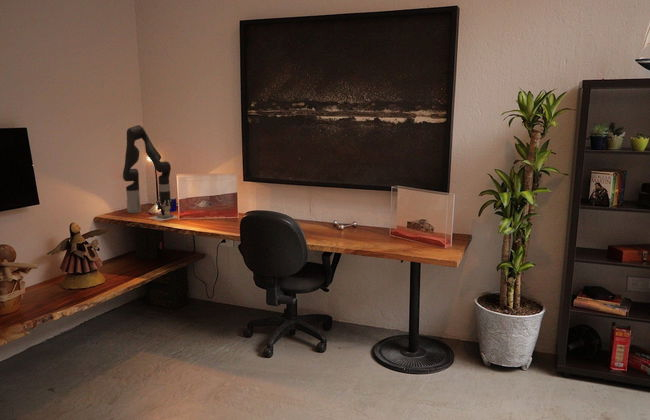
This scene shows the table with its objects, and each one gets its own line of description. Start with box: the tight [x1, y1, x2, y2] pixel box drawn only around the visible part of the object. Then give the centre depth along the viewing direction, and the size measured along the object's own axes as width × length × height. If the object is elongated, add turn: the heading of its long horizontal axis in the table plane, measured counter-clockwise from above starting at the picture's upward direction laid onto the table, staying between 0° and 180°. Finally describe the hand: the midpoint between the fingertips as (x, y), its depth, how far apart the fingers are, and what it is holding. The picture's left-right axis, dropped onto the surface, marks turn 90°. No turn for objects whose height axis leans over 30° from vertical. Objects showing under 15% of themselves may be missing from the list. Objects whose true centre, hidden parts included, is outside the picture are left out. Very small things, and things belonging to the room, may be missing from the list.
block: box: [162, 205, 171, 217], centre depth 367 cm, size 4×4×7 cm
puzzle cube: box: [157, 197, 178, 213], centre depth 400 cm, size 10×10×10 cm
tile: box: [156, 213, 174, 219], centre depth 379 cm, size 2×8×9 cm
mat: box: [148, 215, 178, 222], centre depth 378 cm, size 16×16×1 cm
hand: (165, 214), depth 367 cm, fingers closed on block, 4 cm apart
